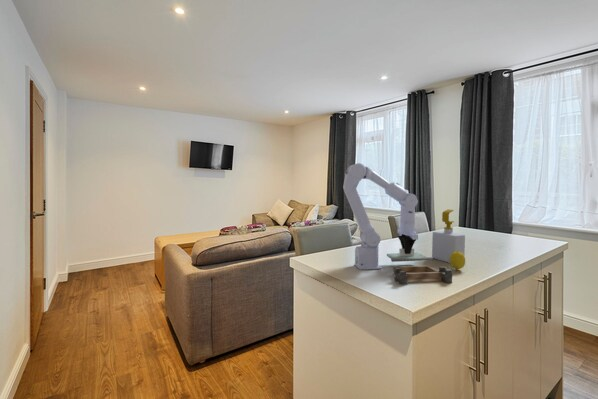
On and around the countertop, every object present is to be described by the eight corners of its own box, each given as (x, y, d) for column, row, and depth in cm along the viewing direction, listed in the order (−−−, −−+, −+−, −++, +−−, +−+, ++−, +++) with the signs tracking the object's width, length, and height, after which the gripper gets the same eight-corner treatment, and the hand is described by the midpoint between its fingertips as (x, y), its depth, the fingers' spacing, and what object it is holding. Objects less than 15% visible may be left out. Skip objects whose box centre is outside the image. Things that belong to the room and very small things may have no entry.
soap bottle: (464, 263, 124) (466, 210, 123) (454, 264, 122) (455, 211, 120) (441, 256, 135) (442, 208, 134) (431, 258, 133) (432, 208, 132)
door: (392, 262, 114) (392, 252, 113) (383, 256, 123) (383, 247, 123) (432, 260, 115) (432, 250, 115) (420, 254, 125) (420, 245, 124)
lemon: (446, 268, 117) (447, 249, 116) (459, 267, 117) (459, 249, 117) (455, 272, 111) (455, 252, 111) (468, 272, 112) (468, 252, 111)
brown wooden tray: (400, 284, 98) (400, 272, 97) (387, 274, 109) (387, 263, 109) (451, 282, 99) (452, 270, 99) (433, 272, 111) (434, 261, 110)
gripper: (425, 223, 112) (424, 257, 112) (408, 219, 126) (407, 249, 127) (408, 223, 111) (407, 257, 112) (393, 219, 125) (392, 249, 126)
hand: (406, 253), depth 119 cm, fingers closed on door
